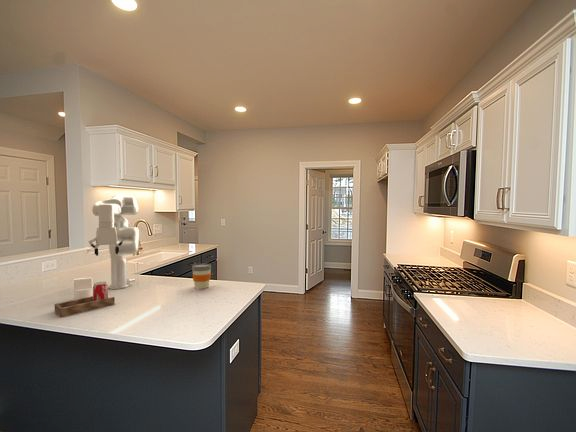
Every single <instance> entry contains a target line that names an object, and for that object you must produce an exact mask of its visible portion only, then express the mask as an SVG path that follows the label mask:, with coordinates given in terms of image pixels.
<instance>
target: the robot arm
mask: <svg viewBox="0 0 576 432" xmlns="http://www.w3.org/2000/svg"><path fill="white" fill-rule="evenodd" d="M91 210H92V214H93V215H94V216H96V217H98V227H97V228H96V232H95V233H96V234H95V238H93V239H90V240H89V241H88V244H89V245H90V246H91V247H92V248H93V249H94V255H95V256H96V257H98V256H99V247H100V246H105V245H106V246H108V251H109V255H110V277H111V278H110V281H111V283H110V285H108V290H120V289H125V288H127V287H130V286H131V283H134V282H136V279H135V278H128V259H127V258H126V256H124V255H135V254H137V253H138V252H139V245H140V230H139V228H138V227H136V226H129V220H128V219H127V218H126V217H125V216H131V215H133V216H134V215H137V214H138V213H139V205H138V202H137V199H136V197H135V196H134V195H132V194H115V195H113V196H112V197H111V198H108V199H104V200H99V201H96V202H95V203H94V204H93V205H92V209H91ZM94 242H95V245H94V244H93V243H94Z"/></svg>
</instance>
